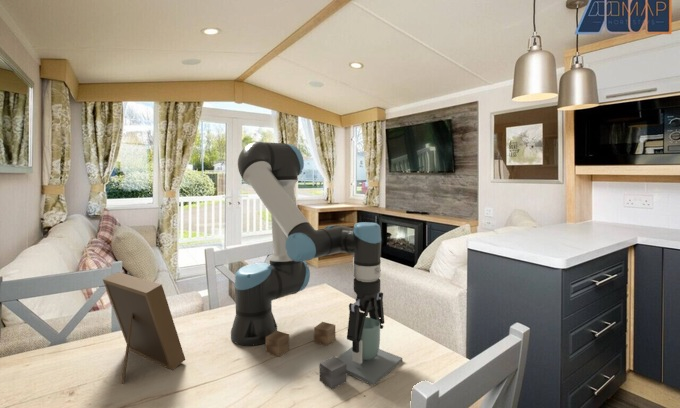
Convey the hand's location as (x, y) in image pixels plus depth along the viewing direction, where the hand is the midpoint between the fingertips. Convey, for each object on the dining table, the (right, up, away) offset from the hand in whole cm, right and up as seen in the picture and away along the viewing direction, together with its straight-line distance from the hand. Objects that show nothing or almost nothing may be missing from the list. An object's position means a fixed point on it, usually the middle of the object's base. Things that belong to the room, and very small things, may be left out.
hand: (366, 355), depth 99 cm
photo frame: (-65, -3, -1) cm, 65 cm away
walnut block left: (-12, -1, +13) cm, 18 cm away
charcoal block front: (-9, -3, -8) cm, 13 cm away
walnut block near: (-27, -2, +7) cm, 28 cm away
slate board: (0, -2, 0) cm, 2 cm away
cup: (0, 0, 0) cm, 0 cm away
